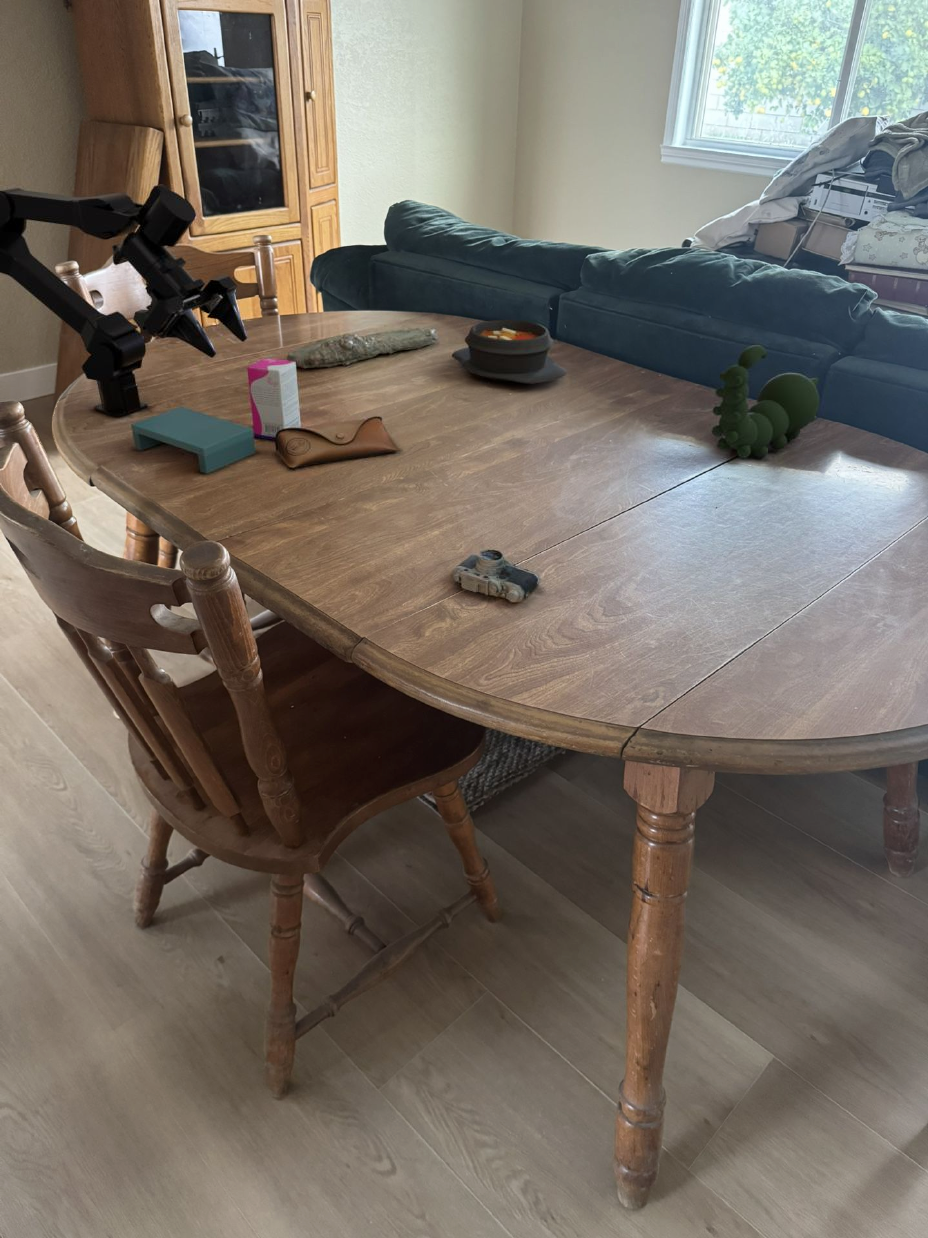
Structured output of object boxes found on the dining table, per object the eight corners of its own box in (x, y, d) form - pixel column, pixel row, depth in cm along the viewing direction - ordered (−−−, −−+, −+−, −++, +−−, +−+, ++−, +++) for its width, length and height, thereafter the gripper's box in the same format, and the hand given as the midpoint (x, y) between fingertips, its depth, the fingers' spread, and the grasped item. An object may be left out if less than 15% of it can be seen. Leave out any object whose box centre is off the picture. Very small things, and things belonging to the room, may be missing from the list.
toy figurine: (741, 483, 139) (833, 434, 152) (758, 363, 128) (857, 320, 141) (692, 464, 145) (785, 417, 158) (704, 348, 134) (803, 307, 147)
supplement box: (302, 429, 150) (297, 360, 143) (284, 442, 145) (278, 371, 139) (271, 424, 151) (264, 356, 145) (252, 437, 146) (245, 366, 140)
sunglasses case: (291, 468, 135) (281, 424, 134) (281, 475, 141) (271, 433, 141) (402, 450, 142) (393, 407, 141) (388, 457, 148) (379, 417, 148)
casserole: (587, 379, 175) (591, 335, 170) (518, 400, 164) (520, 353, 160) (498, 349, 190) (500, 308, 186) (430, 366, 180) (430, 323, 175)
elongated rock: (448, 352, 192) (419, 343, 198) (448, 326, 189) (420, 318, 196) (304, 374, 172) (277, 363, 178) (302, 345, 169) (275, 336, 176)
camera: (521, 609, 104) (523, 578, 102) (446, 583, 109) (446, 553, 107) (542, 590, 108) (544, 559, 106) (469, 566, 113) (469, 536, 110)
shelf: (135, 448, 141) (130, 424, 139) (185, 429, 148) (181, 406, 146) (206, 473, 134) (203, 448, 132) (255, 453, 141) (253, 428, 139)
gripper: (167, 289, 152) (233, 362, 155) (95, 315, 137) (170, 396, 140) (202, 242, 145) (270, 320, 148) (130, 265, 130) (207, 351, 134)
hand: (230, 347), depth 143 cm, fingers open, 9 cm apart
